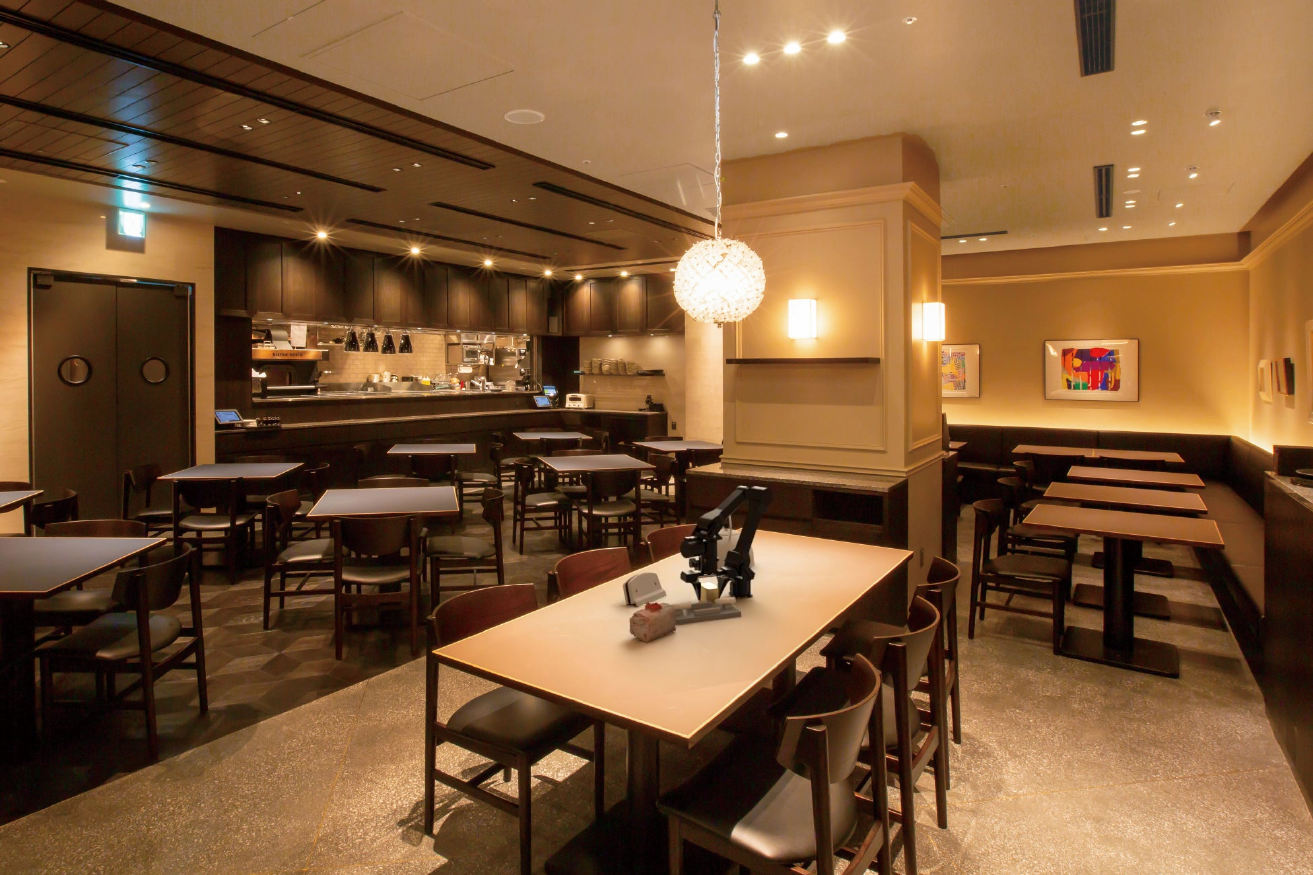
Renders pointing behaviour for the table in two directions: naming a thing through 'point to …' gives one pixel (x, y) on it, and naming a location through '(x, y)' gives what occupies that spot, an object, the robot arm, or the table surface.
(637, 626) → the food item
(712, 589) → the block
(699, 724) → the table surface
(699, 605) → the shaft stand
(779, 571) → the table surface
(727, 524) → the kettle
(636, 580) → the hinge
